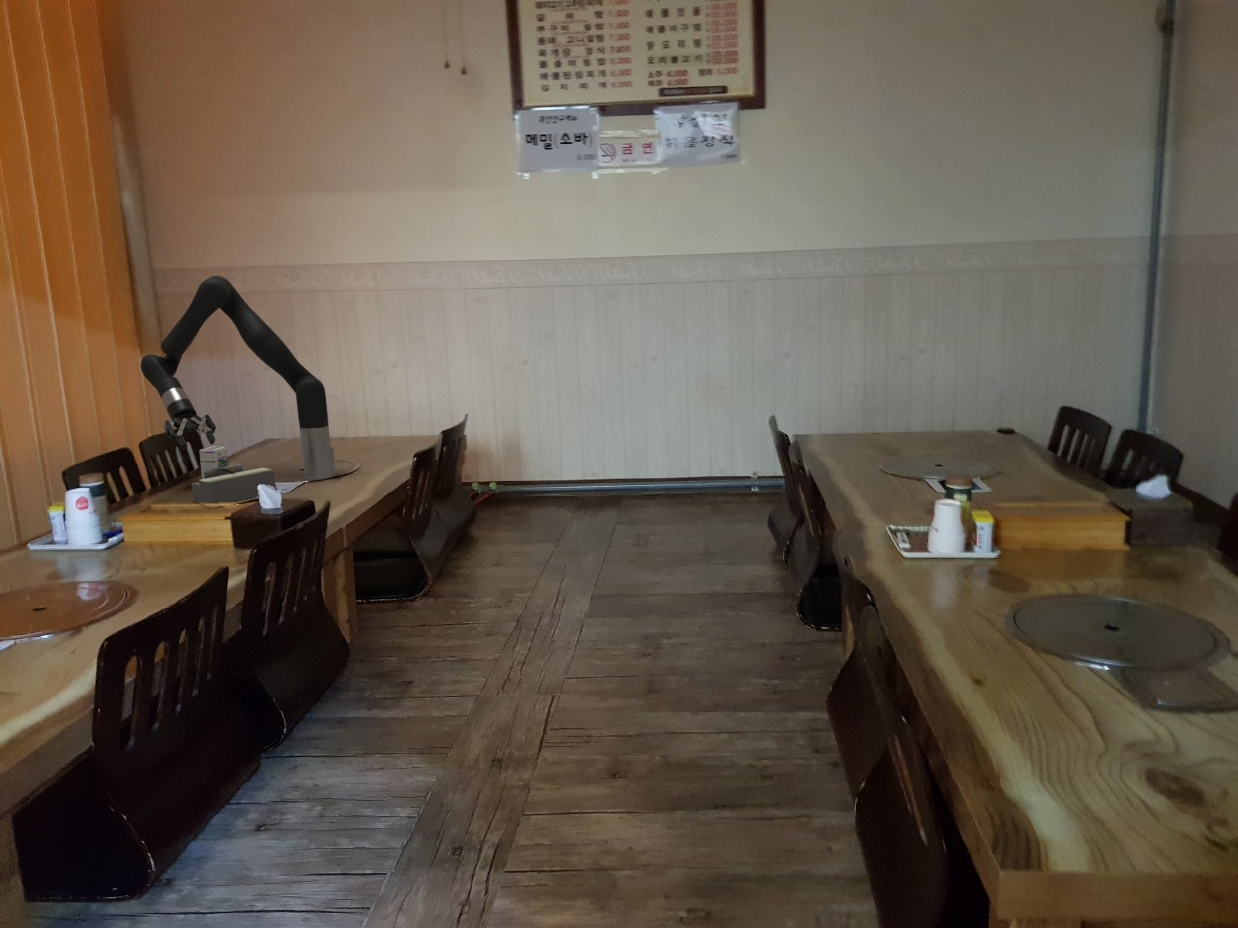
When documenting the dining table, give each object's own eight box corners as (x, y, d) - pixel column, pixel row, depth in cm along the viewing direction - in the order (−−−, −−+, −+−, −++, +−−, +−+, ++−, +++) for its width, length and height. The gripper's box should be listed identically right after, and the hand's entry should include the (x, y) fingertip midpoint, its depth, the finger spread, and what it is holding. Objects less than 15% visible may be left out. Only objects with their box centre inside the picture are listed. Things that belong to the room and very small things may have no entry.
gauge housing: (255, 490, 307) (252, 465, 306) (276, 495, 299) (273, 469, 297) (192, 503, 293) (188, 477, 291) (211, 509, 285) (208, 482, 283)
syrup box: (220, 496, 300) (216, 449, 298) (202, 495, 301) (199, 448, 299) (231, 492, 306) (227, 446, 303) (214, 491, 307) (210, 445, 304)
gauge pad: (242, 489, 304) (239, 463, 303) (255, 493, 299) (252, 466, 297) (204, 497, 296) (201, 470, 294) (217, 501, 290) (213, 473, 289)
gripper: (158, 401, 304) (179, 441, 299) (203, 395, 314) (224, 434, 309) (153, 416, 309) (173, 456, 303) (198, 410, 319) (218, 449, 313)
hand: (199, 445), depth 306 cm, fingers open, 8 cm apart
